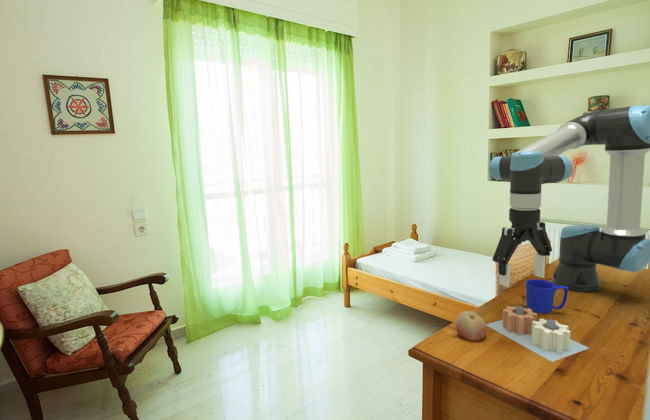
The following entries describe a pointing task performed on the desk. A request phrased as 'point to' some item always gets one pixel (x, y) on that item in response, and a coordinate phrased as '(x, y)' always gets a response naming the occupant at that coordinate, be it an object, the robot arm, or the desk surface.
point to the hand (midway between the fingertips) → (522, 280)
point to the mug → (543, 295)
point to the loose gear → (518, 320)
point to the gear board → (527, 342)
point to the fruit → (470, 326)
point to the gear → (550, 336)
